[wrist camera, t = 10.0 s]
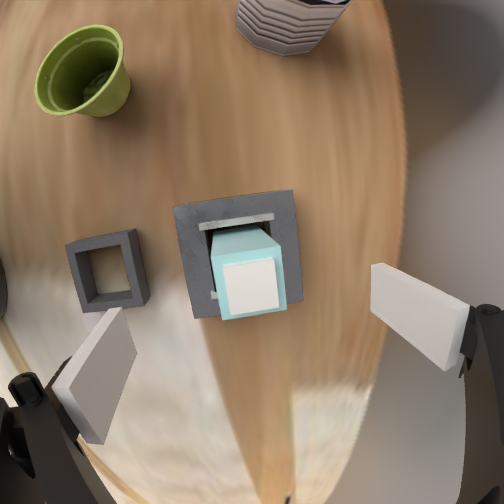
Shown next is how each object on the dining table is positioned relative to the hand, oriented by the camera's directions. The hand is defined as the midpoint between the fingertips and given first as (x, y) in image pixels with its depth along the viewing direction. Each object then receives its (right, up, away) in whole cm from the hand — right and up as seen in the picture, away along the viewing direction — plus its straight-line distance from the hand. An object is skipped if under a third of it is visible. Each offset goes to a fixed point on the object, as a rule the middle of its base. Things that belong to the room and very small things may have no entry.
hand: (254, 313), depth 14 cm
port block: (-2, +3, +17) cm, 17 cm away
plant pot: (-16, +21, +11) cm, 29 cm away
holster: (-16, +1, +15) cm, 22 cm away
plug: (-2, +3, +17) cm, 17 cm away
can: (+3, +31, +12) cm, 33 cm away
